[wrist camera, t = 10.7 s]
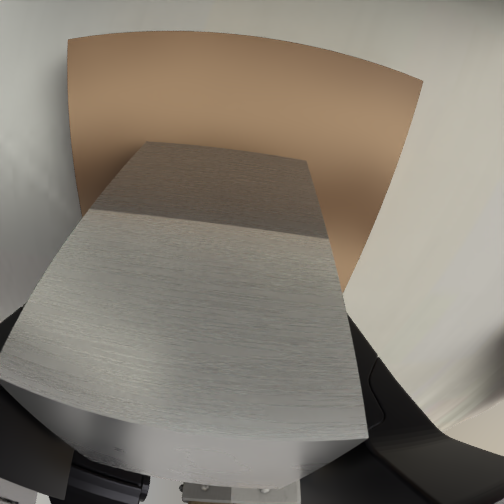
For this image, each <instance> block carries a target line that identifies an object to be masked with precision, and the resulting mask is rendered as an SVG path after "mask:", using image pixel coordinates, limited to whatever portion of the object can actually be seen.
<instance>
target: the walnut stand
mask: <svg viewBox="0 0 504 504" xmlns="http://www.w3.org/2000/svg"><path fill="white" fill-rule="evenodd" d="M67 80H68V107H69V122H70V134H71V145H72V154H73V162H74V170H75V177H76V184H77V190H78V196H79V202H80V208H81V213H82V218H83V217H84V215H85V214H86V213H87V211H88V210H89V209H90V207H91V206H92V205H93V203H94V202H95V201H96V200H97V198H98V197H99V196H100V195H101V193H102V192H103V191H104V190H105V188H106V187H107V186H108V185H109V184H110V182H111V181H112V180H113V179H114V178H115V176H116V175H117V174H118V173H119V172H120V170H121V169H122V168H123V167H124V166H125V165H126V164H127V162H128V161H129V160H130V159H131V158H132V157H133V156H134V154H135V153H136V152H137V151H138V150H139V149H140V148H141V147H142V146H143V145H144V144H145V142H146V141H148V142H163V143H176V144H187V145H198V146H208V147H217V148H225V149H233V150H241V151H249V152H256V153H263V154H269V155H276V156H282V157H288V158H294V159H300V160H305V161H307V165H308V168H309V171H310V174H311V178H312V181H313V184H314V188H315V191H316V194H317V198H318V201H319V205H320V208H321V212H322V215H323V219H324V223H325V226H326V230H327V234H328V237H329V241H330V245H331V249H332V253H333V257H334V261H335V265H336V269H337V273H338V277H339V281H340V285H341V290H342V294H343V292H344V290H345V288H346V285H347V283H348V281H349V279H350V277H351V275H352V273H353V271H354V268H355V266H356V264H357V262H358V260H359V257H360V255H361V253H362V251H363V248H364V246H365V244H366V241H367V239H368V237H369V234H370V232H371V230H372V227H373V225H374V223H375V220H376V218H377V215H378V213H379V210H380V208H381V205H382V203H383V200H384V198H385V195H386V193H387V190H388V187H389V185H390V182H391V179H392V177H393V174H394V171H395V169H396V166H397V163H398V160H399V157H400V154H401V152H402V149H403V146H404V143H405V140H406V137H407V134H408V131H409V128H410V125H411V121H412V118H413V115H414V112H415V108H416V105H417V102H418V98H419V95H420V91H421V88H422V84H423V81H422V80H420V79H417V78H415V77H412V76H409V75H407V74H404V73H402V72H399V71H396V70H393V69H391V68H388V67H385V66H382V65H379V64H376V63H372V62H369V61H366V60H363V59H359V58H356V57H352V56H349V55H345V54H341V53H338V52H334V51H330V50H326V49H321V48H317V47H312V46H308V45H303V44H298V43H293V42H287V41H281V40H275V39H269V38H262V37H254V36H246V35H237V34H226V33H213V32H194V31H146V32H127V33H114V34H104V35H95V36H88V37H81V38H74V39H68V55H67Z"/></svg>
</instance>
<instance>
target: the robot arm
mask: <svg viewBox="0 0 504 504" xmlns="http://www.w3.org/2000/svg"><path fill="white" fill-rule="evenodd" d="M25 305H26V303H25V304H24V305H23V307H20V308H19V309H18V310H16V311H15V312H14V313H13V314H12V315H10V316H9V317H8V318H6V319H5V320H4V321H3V322H1V323H0V353H1V351H2V349H3V347H4V345H5V342H6V340H7V338H8V336H9V335H10V333H11V331H12V329H13V327H14V325H15V323H16V321H17V319H18V317H19V316H20V314H21V312H22V310H23V308H24V307H25ZM347 317H348V321H349V326H350V331H351V336H352V341H353V346H354V351H355V356H356V362H357V367H358V373H359V378H360V384H361V390H362V396H363V402H364V409H365V416H366V422H367V430H368V437H369V438H368V439H366V440H365V441H363V442H362V443H360V444H359V445H357V446H356V447H354V448H353V449H351V450H350V451H348V452H346V453H345V454H343V455H342V456H340V457H338V458H337V459H335V460H333V461H332V462H330V463H328V464H326V465H325V466H323V467H321V468H319V469H318V470H316V471H314V472H312V473H310V474H309V475H307V476H305V477H303V478H301V479H300V493H301V504H504V456H500V455H497V454H494V453H491V452H488V451H486V450H482V449H480V448H477V447H474V446H471V445H468V444H466V443H463V442H460V441H458V440H455V439H453V438H450V437H449V436H447V435H445V434H444V433H442V432H441V431H440V430H439V429H438V428H437V427H436V426H435V425H434V424H433V423H432V422H431V421H430V419H429V418H428V417H427V416H426V415H425V414H424V412H423V411H422V410H421V409H420V408H419V407H418V405H417V404H416V403H415V402H414V401H413V400H412V399H411V397H410V396H409V395H408V394H407V393H406V391H405V390H404V389H403V388H402V387H401V385H400V384H399V383H398V382H397V381H396V379H395V378H394V377H393V375H392V374H391V373H390V371H389V370H388V369H387V367H386V366H385V364H384V363H383V362H382V360H381V359H380V358H379V357H377V356H378V355H377V353H376V352H375V351H374V349H373V348H372V347H371V345H370V344H369V342H368V341H367V340H366V338H365V337H364V336H363V334H362V333H361V331H360V330H359V329H358V327H357V326H356V325H355V323H354V322H353V321H352V319H351V318H350V317H349V315H348V314H347ZM149 484H150V476H148V475H144V474H139V473H135V472H131V471H127V470H123V469H119V468H115V467H111V466H108V465H104V464H101V463H98V462H94V461H91V460H89V459H88V458H87V457H85V456H84V455H82V454H81V453H79V452H78V451H77V450H75V449H74V448H73V447H71V446H70V445H69V444H67V443H66V442H65V441H63V440H62V439H61V438H59V437H58V436H57V435H56V434H54V433H53V432H52V431H51V430H49V429H48V428H47V427H46V426H45V425H43V424H42V423H41V422H40V421H39V420H38V419H36V418H35V417H34V416H33V415H32V414H31V413H30V412H29V411H27V410H26V409H25V408H24V407H23V406H22V405H21V404H20V403H19V402H18V401H17V400H16V399H15V398H14V397H13V396H12V395H11V394H10V393H9V392H8V391H7V390H6V389H5V388H4V387H3V386H2V385H1V384H0V504H35V503H36V497H37V492H39V493H42V494H45V495H48V496H49V498H50V501H51V504H139V501H141V502H143V501H144V500H145V498H146V496H147V493H148V489H149Z"/></svg>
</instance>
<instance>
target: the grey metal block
mask: <svg viewBox="0 0 504 504" xmlns="http://www.w3.org/2000/svg"><path fill="white" fill-rule="evenodd" d="M0 384H1V385H2V386H3V387H4V388H5V389H6V390H7V391H8V392H9V393H10V394H11V395H12V396H13V397H14V398H15V399H16V400H17V401H18V402H19V403H20V404H21V405H22V406H23V407H24V408H25V409H26V410H27V411H29V412H30V413H31V414H32V415H33V416H34V417H35V418H36V419H38V420H39V421H40V422H41V423H42V424H43V425H45V426H46V427H47V428H48V429H49V430H51V431H52V432H53V433H54V434H56V435H57V436H58V437H59V438H61V439H62V440H63V441H65V442H66V443H67V444H69V445H70V446H71V447H73V448H74V449H75V450H77V451H78V452H79V453H81V454H82V455H84V456H85V457H87V458H88V459H89V460H91V461H94V462H98V463H101V464H104V465H108V466H111V467H115V468H119V469H123V470H127V471H131V472H135V473H139V474H144V475H148V476H153V477H159V478H164V479H170V480H175V481H181V482H188V483H195V484H203V485H212V486H223V487H236V488H256V489H281V488H283V487H285V486H287V485H289V484H291V483H293V482H295V481H297V480H299V479H301V478H303V477H305V476H307V475H309V474H310V473H312V472H314V471H316V470H318V469H319V468H321V467H323V466H325V465H326V464H328V463H330V462H332V461H333V460H335V459H337V458H338V457H340V456H342V455H343V454H345V453H346V452H348V451H350V450H351V449H353V448H354V447H356V446H357V445H359V444H360V443H362V442H363V441H365V440H366V439H368V438H369V437H368V430H367V422H366V416H365V409H364V402H363V396H362V390H361V384H360V378H359V373H358V367H357V362H356V356H355V351H354V346H353V341H352V336H351V331H350V326H349V321H348V317H347V312H346V307H345V303H344V298H343V294H342V290H341V285H340V281H339V277H338V273H337V269H336V265H335V261H334V257H333V253H332V249H331V245H330V241H329V237H328V234H327V230H326V226H325V223H324V219H323V215H322V212H321V208H320V205H319V201H318V198H317V194H316V191H315V188H314V184H313V181H312V178H311V174H310V171H309V168H308V165H307V161H305V160H300V159H294V158H288V157H282V156H276V155H269V154H263V153H256V152H249V151H241V150H233V149H225V148H217V147H208V146H198V145H187V144H176V143H163V142H148V141H146V142H145V144H144V145H143V146H142V147H141V148H140V149H139V150H138V151H137V152H136V153H135V154H134V156H133V157H132V158H131V159H130V160H129V161H128V162H127V164H126V165H125V166H124V167H123V168H122V169H121V170H120V172H119V173H118V174H117V175H116V176H115V178H114V179H113V180H112V181H111V182H110V184H109V185H108V186H107V187H106V188H105V190H104V191H103V192H102V193H101V195H100V196H99V197H98V198H97V200H96V201H95V202H94V203H93V205H92V206H91V207H90V209H89V210H88V211H87V213H86V214H85V215H84V217H83V218H82V219H81V221H80V222H79V223H78V225H77V226H76V227H75V229H74V230H73V232H72V233H71V234H70V236H69V237H68V239H67V240H66V241H65V243H64V244H63V246H62V247H61V249H60V250H59V252H58V253H57V255H56V256H55V258H54V259H53V261H52V262H51V264H50V265H49V267H48V268H47V270H46V272H45V273H44V275H43V276H42V278H41V279H40V281H39V283H38V284H37V286H36V288H35V289H34V291H33V293H32V294H31V296H30V298H29V300H28V301H27V303H26V305H25V307H24V308H23V310H22V312H21V314H20V316H19V317H18V319H17V321H16V323H15V325H14V327H13V329H12V331H11V333H10V335H9V336H8V338H7V340H6V342H5V345H4V347H3V349H2V351H1V353H0Z"/></svg>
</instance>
